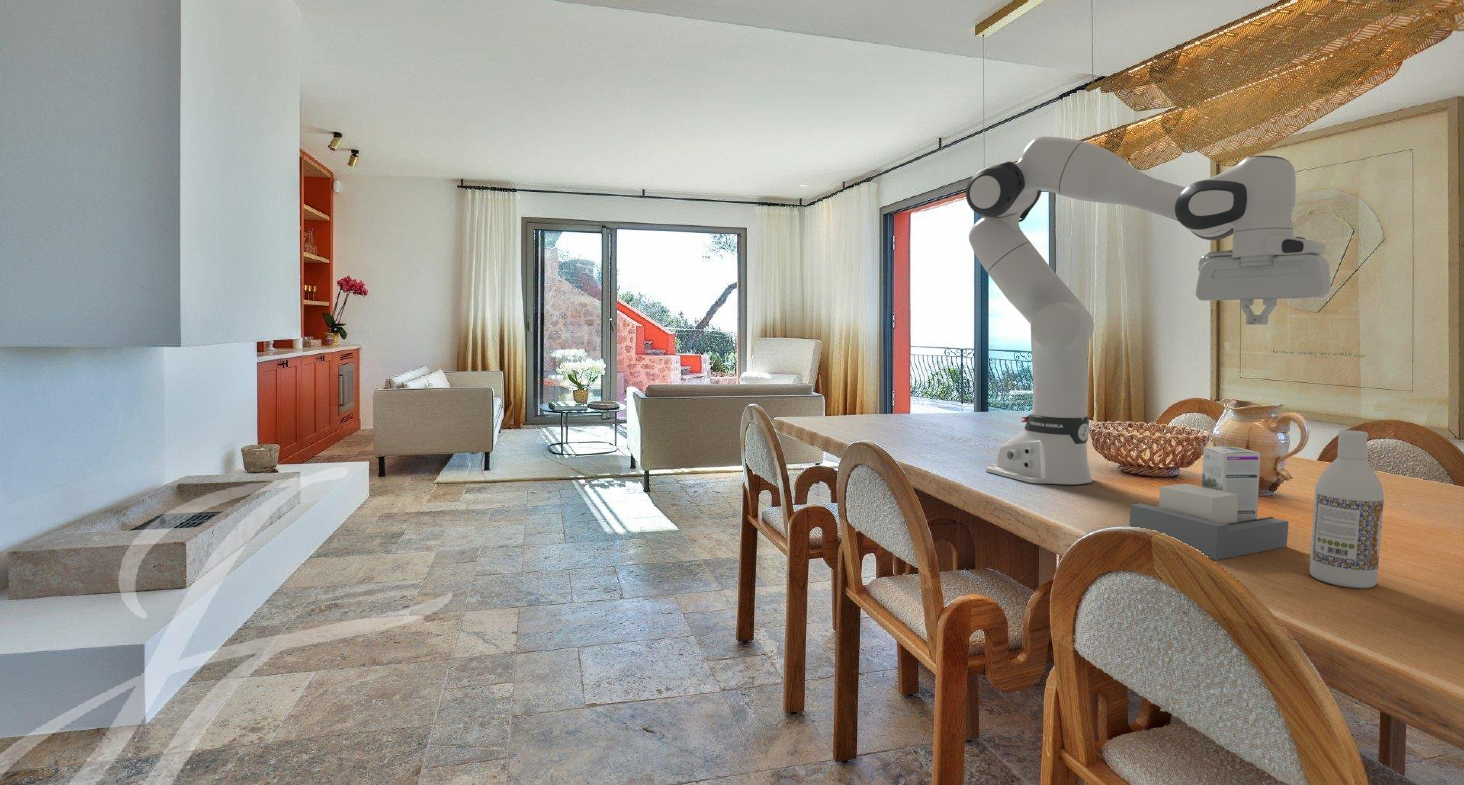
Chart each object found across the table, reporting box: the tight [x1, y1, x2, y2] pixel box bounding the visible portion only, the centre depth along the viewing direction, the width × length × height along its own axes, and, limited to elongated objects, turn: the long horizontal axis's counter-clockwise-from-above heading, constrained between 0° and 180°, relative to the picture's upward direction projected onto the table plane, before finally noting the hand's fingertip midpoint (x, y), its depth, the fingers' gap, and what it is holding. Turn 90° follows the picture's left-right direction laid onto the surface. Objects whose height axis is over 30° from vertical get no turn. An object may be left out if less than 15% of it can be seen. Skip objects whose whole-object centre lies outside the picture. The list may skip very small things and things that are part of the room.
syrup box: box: [1201, 445, 1261, 522], centre depth 117 cm, size 6×6×14 cm
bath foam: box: [1308, 429, 1385, 589], centre depth 97 cm, size 7×7×20 cm
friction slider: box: [1158, 483, 1239, 524], centre depth 115 cm, size 6×8×8 cm
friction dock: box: [1129, 502, 1289, 561], centre depth 116 cm, size 17×14×5 cm
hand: (1256, 324), depth 135 cm, fingers closed
